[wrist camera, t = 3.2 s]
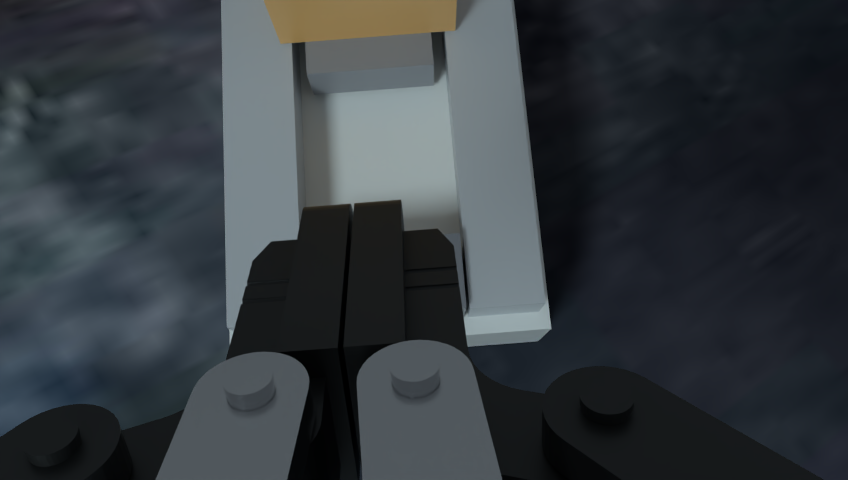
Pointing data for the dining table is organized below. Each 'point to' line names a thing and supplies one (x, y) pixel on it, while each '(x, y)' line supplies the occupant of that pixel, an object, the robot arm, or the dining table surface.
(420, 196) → the base
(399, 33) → the breaker lever
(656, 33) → the dining table surface
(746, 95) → the dining table surface
